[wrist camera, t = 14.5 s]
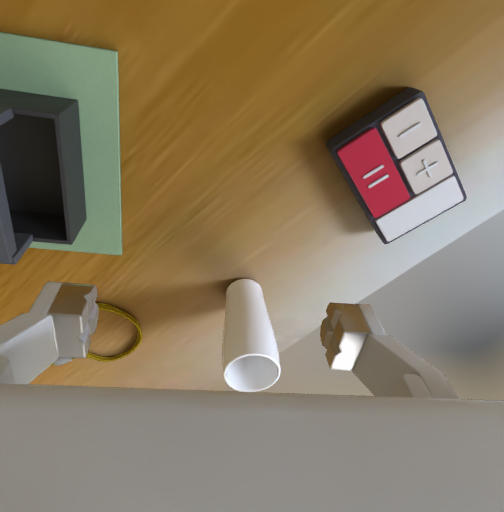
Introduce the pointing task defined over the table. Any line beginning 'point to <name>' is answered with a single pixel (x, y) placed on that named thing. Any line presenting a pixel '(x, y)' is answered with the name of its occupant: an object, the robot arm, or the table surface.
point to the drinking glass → (248, 339)
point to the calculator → (398, 165)
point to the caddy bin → (39, 172)
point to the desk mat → (91, 123)
